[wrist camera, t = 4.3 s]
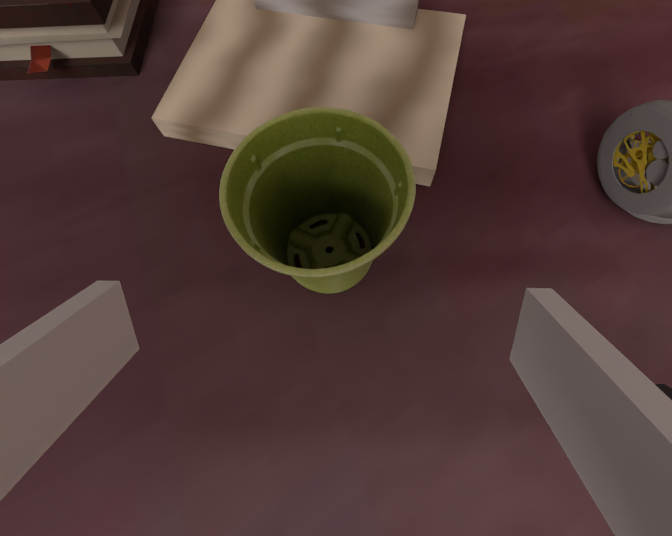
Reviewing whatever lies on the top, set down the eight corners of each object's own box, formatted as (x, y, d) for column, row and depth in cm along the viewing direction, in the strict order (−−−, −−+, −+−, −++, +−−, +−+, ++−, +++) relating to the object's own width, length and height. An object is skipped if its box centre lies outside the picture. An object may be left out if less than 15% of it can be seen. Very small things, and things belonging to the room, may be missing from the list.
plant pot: (288, 341, 23) (252, 308, 15) (245, 222, 26) (197, 142, 18) (418, 287, 24) (452, 228, 16) (362, 178, 27) (365, 83, 19)
